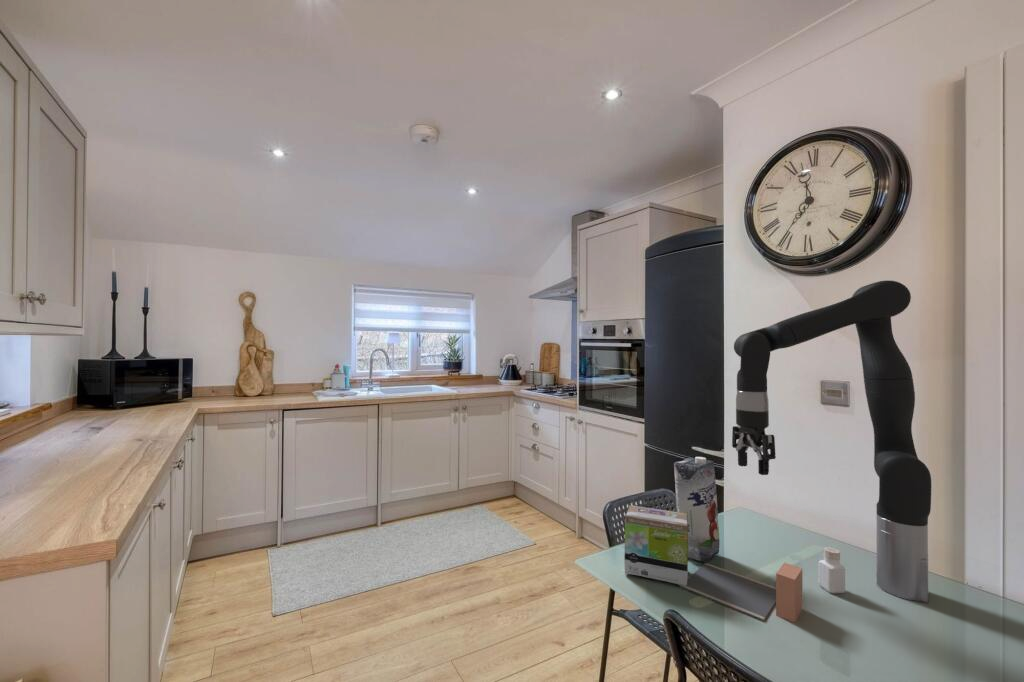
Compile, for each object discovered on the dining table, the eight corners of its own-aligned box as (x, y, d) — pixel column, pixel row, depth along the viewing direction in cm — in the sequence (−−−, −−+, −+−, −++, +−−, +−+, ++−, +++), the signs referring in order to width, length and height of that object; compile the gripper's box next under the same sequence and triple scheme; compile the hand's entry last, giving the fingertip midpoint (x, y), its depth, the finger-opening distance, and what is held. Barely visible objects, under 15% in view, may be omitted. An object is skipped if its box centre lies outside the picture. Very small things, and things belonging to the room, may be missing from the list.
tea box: (623, 575, 108) (623, 515, 109) (628, 558, 117) (628, 503, 118) (688, 587, 102) (687, 524, 103) (687, 569, 111) (687, 511, 112)
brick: (802, 608, 95) (802, 568, 96) (795, 622, 90) (795, 579, 91) (784, 602, 98) (784, 562, 98) (776, 615, 93) (776, 573, 93)
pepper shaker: (846, 594, 101) (846, 553, 102) (830, 594, 101) (830, 554, 101) (832, 584, 105) (832, 546, 106) (817, 585, 105) (817, 546, 105)
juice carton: (675, 555, 119) (669, 457, 121) (692, 544, 126) (686, 452, 128) (707, 565, 113) (700, 461, 115) (723, 553, 120) (717, 455, 122)
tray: (782, 592, 102) (782, 589, 102) (763, 621, 91) (763, 619, 91) (705, 564, 115) (705, 562, 115) (679, 587, 103) (679, 585, 103)
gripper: (784, 411, 106) (785, 477, 106) (748, 404, 120) (749, 462, 120) (756, 412, 106) (756, 478, 105) (723, 405, 120) (723, 463, 119)
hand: (752, 470), depth 113 cm, fingers open, 8 cm apart
